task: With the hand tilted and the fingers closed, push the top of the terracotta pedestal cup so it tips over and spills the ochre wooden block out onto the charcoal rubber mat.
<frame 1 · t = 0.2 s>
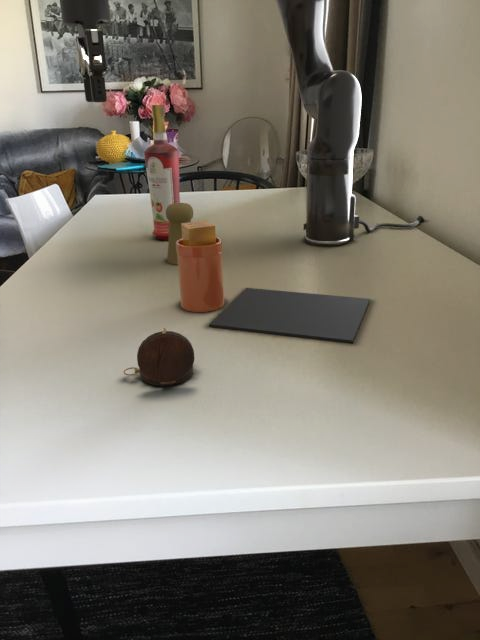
hand: (96, 102, 95), 29 cm above the table, tool pointing down, fingers open, 8 cm apart
liquor: (168, 238, 127), on the table
mat: (293, 313, 83), on the table
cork: (183, 261, 110), on the table
dark brown dome: (159, 380, 65), on the table
tumbler: (202, 304, 87), on the table, touching block
block: (199, 250, 84), point 8 cm above the table, touching tumbler
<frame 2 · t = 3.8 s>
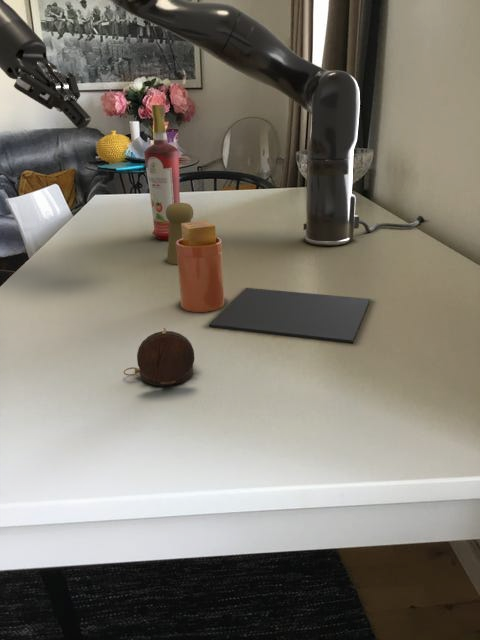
hand: (85, 124, 87), 26 cm above the table, tool tilted 45°, fingers closed
nothing on the table moved.
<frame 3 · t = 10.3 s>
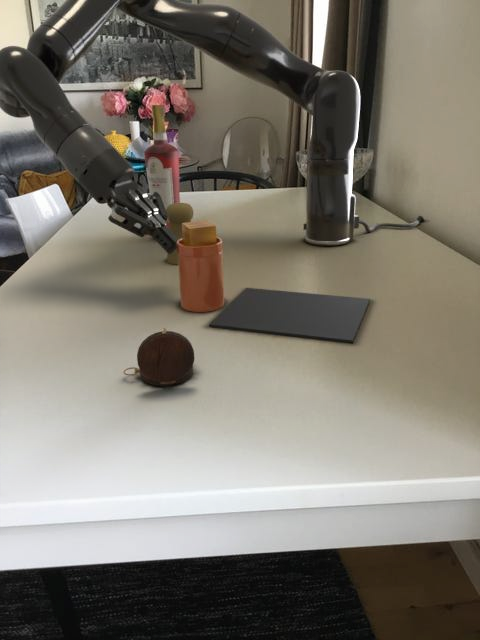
hand: (175, 249, 85), 9 cm above the table, tool tilted 45°, fingers closed
tumbler: (202, 304, 87), on the table, touching block, gripper
everything else where it was.
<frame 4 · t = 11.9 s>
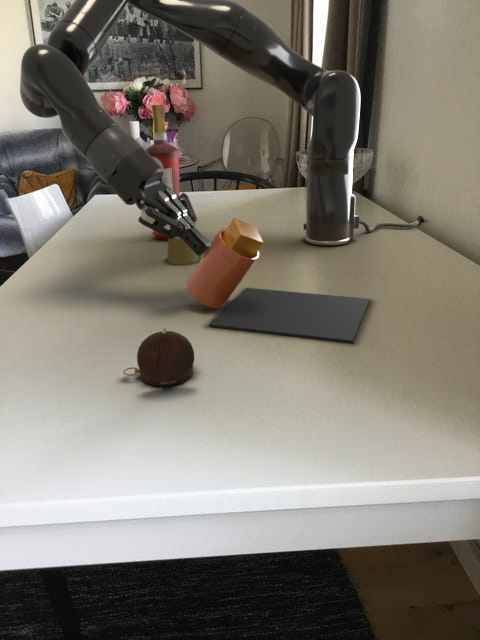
hand: (205, 251, 84), 9 cm above the table, tool tilted 45°, fingers closed
tumbler: (205, 292, 86), point 2 cm above the table, tilted 36°, touching block
block: (234, 251, 82), point 9 cm above the table, tilted 36°, touching tumbler
everything else where it was.
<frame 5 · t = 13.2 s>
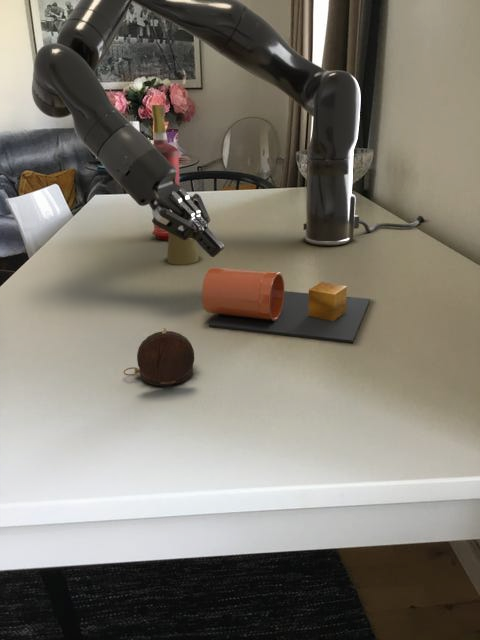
hand: (218, 252, 83), 8 cm above the table, tool tilted 45°, fingers closed
tumbler: (211, 290, 82), point 4 cm above the table, tilted 89°, touching mat
block: (327, 287, 80), point 4 cm above the table, tilted 180°, touching mat
everything else where it was.
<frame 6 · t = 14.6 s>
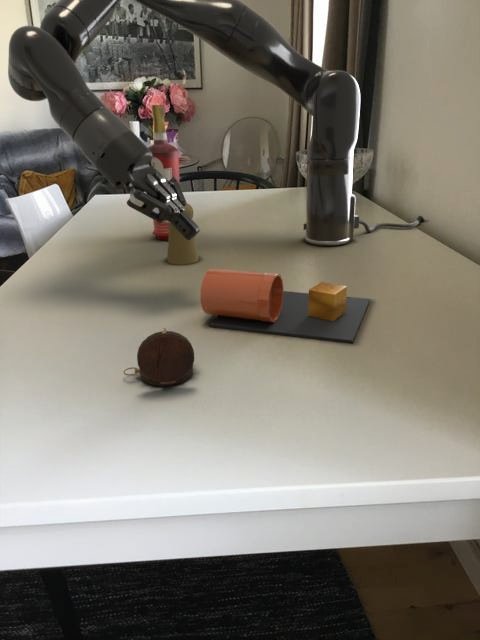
hand: (194, 235, 83), 11 cm above the table, tool tilted 45°, fingers closed
nothing on the table moved.
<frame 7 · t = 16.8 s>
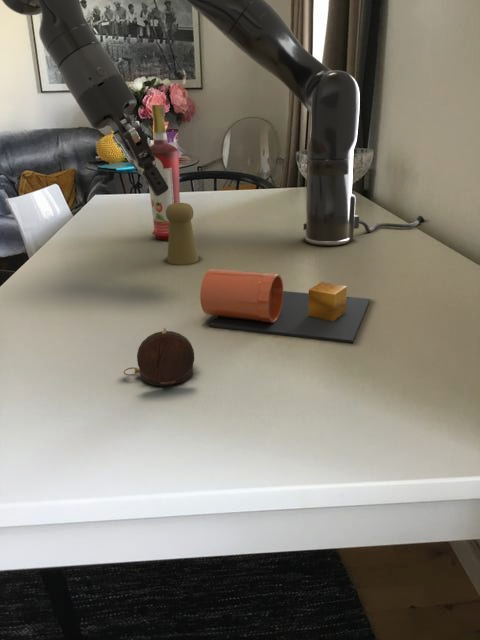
hand: (162, 192, 85), 16 cm above the table, tool tilted 30°, fingers closed
nothing on the table moved.
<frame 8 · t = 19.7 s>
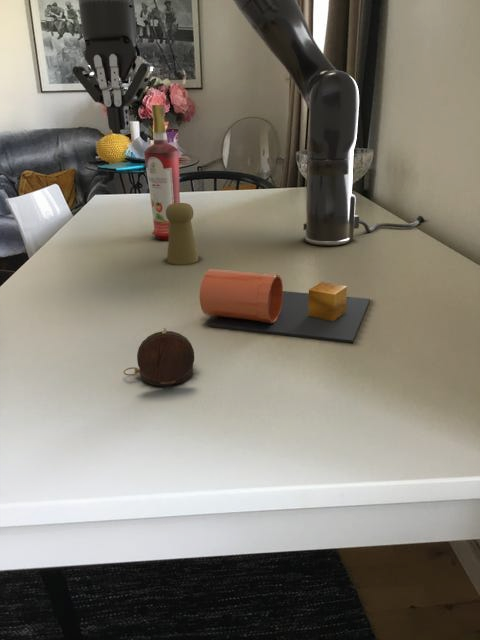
hand: (120, 133, 85), 25 cm above the table, tool pointing down, fingers closed
nothing on the table moved.
at the end: block 5.0 cm from the mat (horizontally); block point 4.4 cm above the table; tumbler tilted 90° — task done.
